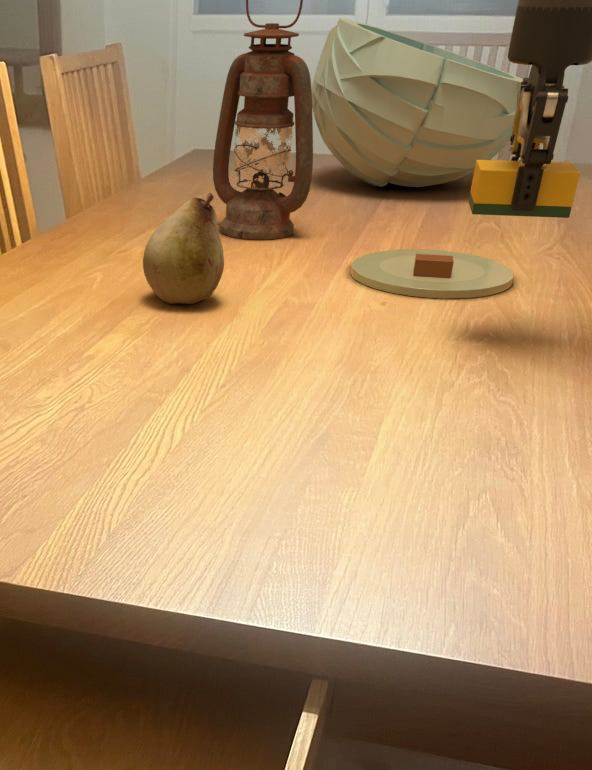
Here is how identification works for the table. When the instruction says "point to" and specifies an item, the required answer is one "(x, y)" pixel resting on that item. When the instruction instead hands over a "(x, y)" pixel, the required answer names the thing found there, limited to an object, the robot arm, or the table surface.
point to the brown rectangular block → (433, 266)
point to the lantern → (265, 110)
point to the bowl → (408, 107)
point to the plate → (397, 277)
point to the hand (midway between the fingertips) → (518, 202)
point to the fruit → (185, 254)
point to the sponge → (498, 185)
